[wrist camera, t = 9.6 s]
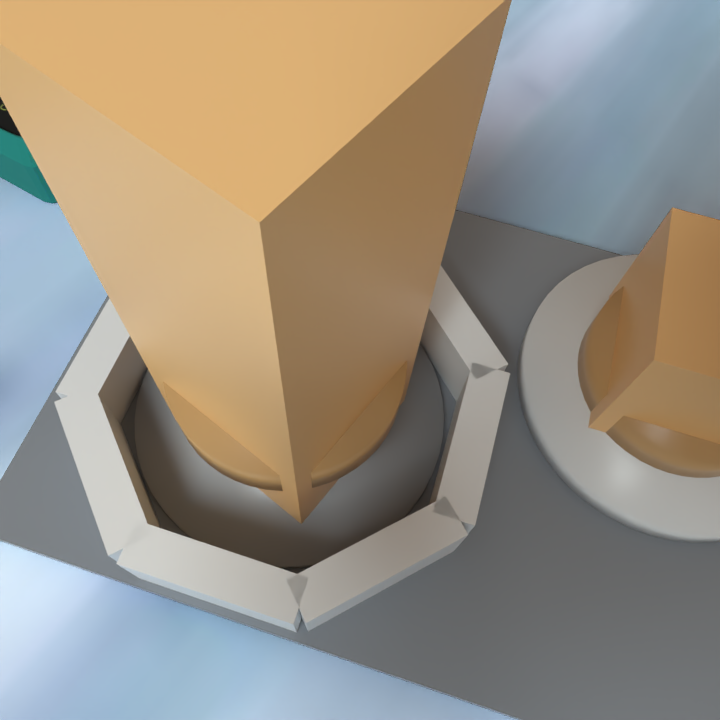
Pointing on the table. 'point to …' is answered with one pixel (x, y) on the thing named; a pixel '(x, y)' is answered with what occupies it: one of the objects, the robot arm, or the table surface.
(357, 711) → the table surface
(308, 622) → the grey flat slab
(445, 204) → the tan pillar on disc
